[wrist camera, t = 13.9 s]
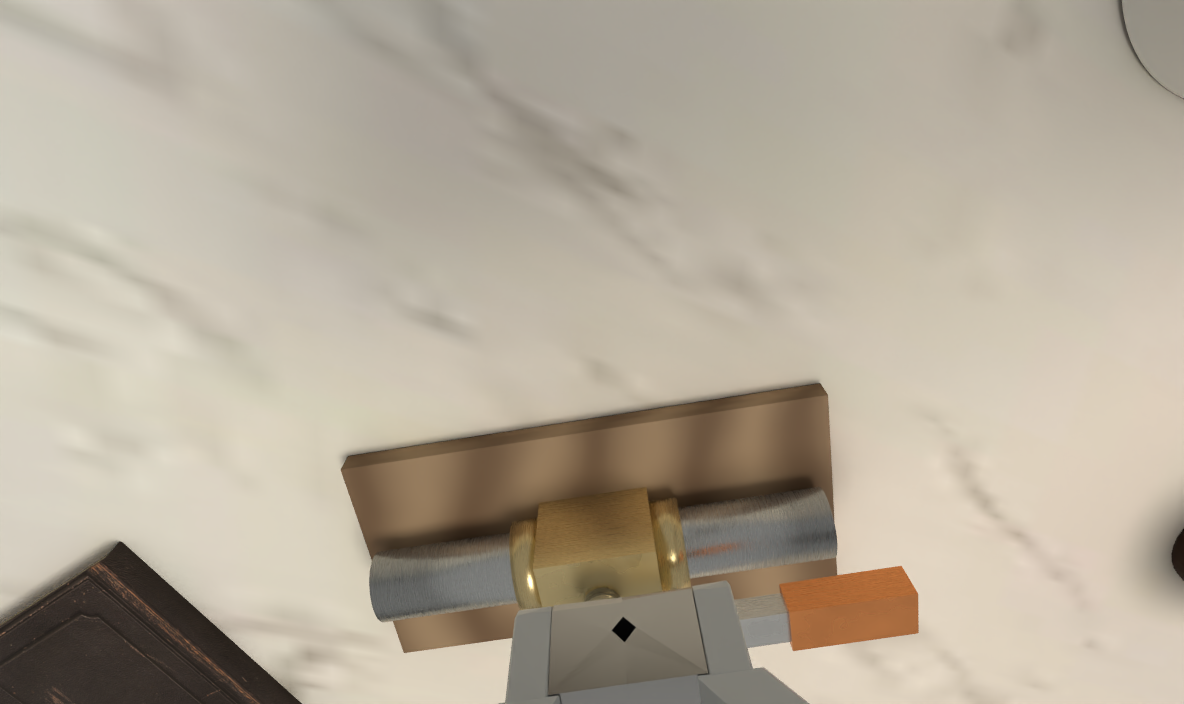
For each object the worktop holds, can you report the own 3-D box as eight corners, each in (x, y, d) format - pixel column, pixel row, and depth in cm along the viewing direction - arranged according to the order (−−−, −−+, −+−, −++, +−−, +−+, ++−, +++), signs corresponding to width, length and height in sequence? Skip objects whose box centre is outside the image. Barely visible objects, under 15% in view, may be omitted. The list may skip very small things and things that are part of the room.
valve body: (811, 456, 45) (857, 543, 37) (815, 534, 47) (860, 631, 39) (380, 521, 46) (340, 617, 39) (404, 593, 48) (371, 698, 41)
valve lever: (578, 657, 39) (578, 687, 38) (566, 608, 38) (566, 638, 36) (902, 610, 38) (918, 639, 37) (901, 559, 37) (918, 587, 35)
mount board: (819, 383, 44) (827, 394, 42) (830, 576, 49) (837, 592, 48) (347, 456, 45) (340, 469, 44) (408, 635, 51) (403, 652, 49)
